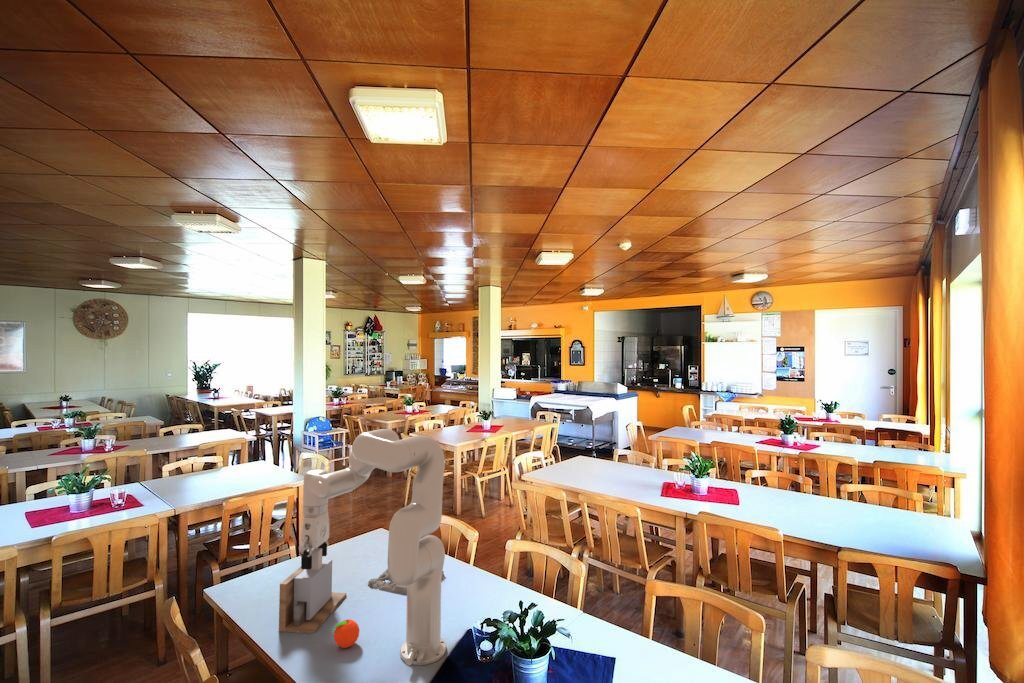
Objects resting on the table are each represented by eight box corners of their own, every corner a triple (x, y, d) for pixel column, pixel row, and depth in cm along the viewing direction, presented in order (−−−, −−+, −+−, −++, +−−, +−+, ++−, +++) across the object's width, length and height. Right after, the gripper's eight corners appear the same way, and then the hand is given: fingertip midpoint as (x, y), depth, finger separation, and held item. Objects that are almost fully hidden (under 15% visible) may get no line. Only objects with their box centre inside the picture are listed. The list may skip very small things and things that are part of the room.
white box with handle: (309, 620, 144) (311, 559, 145) (293, 619, 145) (294, 558, 145) (331, 597, 158) (332, 541, 159) (316, 596, 159) (317, 540, 159)
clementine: (333, 658, 129) (334, 631, 129) (326, 645, 134) (327, 620, 135) (362, 647, 133) (363, 622, 134) (354, 635, 139) (355, 611, 139)
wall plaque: (446, 576, 178) (447, 565, 178) (421, 600, 160) (421, 589, 160) (393, 566, 186) (394, 556, 186) (363, 588, 168) (363, 577, 168)
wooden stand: (313, 633, 140) (314, 585, 140) (278, 631, 141) (279, 583, 141) (346, 596, 162) (347, 555, 162) (315, 594, 163) (316, 553, 163)
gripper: (312, 518, 144) (311, 575, 143) (338, 501, 161) (337, 551, 160) (289, 517, 144) (288, 573, 144) (317, 500, 161) (316, 550, 161)
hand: (314, 562), depth 152 cm, fingers open, 9 cm apart
